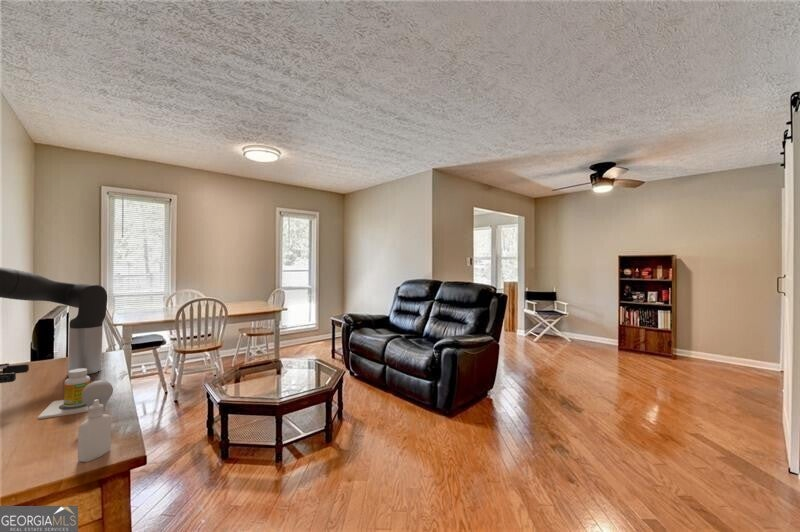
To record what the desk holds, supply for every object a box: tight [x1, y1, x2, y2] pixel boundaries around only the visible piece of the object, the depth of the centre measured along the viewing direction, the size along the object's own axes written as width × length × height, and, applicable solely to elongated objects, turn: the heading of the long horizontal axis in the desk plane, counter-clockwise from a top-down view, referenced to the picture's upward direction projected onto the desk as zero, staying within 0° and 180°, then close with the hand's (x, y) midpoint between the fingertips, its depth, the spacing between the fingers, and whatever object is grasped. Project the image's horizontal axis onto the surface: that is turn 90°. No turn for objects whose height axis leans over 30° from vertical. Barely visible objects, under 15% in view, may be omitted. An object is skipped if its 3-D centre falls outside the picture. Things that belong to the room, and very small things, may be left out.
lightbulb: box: [82, 379, 114, 414], centre depth 88 cm, size 6×6×11 cm
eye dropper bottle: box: [77, 399, 112, 463], centre depth 73 cm, size 4×6×12 cm
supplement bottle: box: [63, 368, 91, 407], centre depth 97 cm, size 5×5×10 cm
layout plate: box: [37, 399, 88, 420], centre depth 98 cm, size 12×13×1 cm
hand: (22, 372), depth 92 cm, fingers open, 8 cm apart
